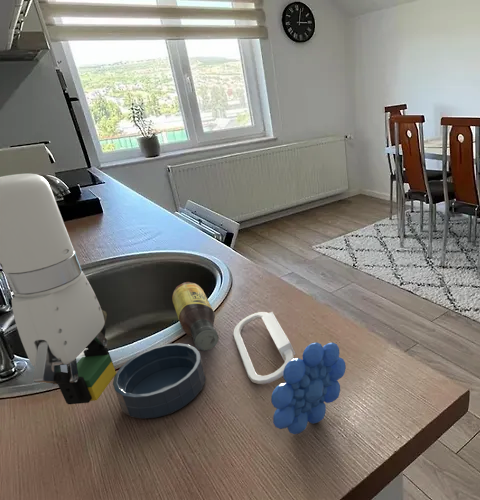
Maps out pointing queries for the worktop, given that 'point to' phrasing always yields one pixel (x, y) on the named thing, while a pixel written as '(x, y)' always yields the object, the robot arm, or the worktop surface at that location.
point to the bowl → (159, 380)
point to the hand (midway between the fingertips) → (91, 384)
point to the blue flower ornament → (308, 387)
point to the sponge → (96, 373)
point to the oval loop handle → (279, 339)
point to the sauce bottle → (195, 315)
